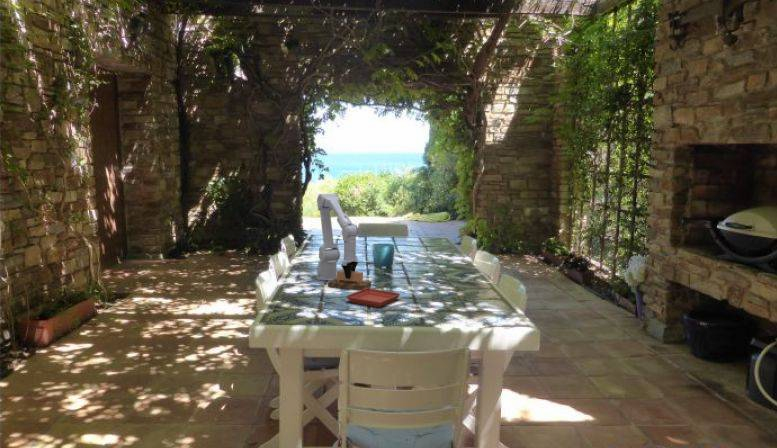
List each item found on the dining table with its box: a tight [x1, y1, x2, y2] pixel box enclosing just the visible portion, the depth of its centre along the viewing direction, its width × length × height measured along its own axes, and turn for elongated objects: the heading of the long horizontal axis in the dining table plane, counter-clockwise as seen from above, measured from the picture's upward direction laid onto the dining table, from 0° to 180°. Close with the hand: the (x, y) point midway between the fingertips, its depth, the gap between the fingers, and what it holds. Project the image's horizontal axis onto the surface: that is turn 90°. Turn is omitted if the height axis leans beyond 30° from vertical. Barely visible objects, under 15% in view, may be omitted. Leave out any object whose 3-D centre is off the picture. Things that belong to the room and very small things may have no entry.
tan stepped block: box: [337, 269, 364, 284], centre depth 269 cm, size 12×4×7 cm, turn 72°
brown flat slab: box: [327, 278, 372, 291], centre depth 269 cm, size 19×9×2 cm, turn 72°
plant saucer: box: [345, 288, 401, 308], centre depth 245 cm, size 18×18×3 cm
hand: (349, 277), depth 269 cm, fingers closed on tan stepped block, 4 cm apart
